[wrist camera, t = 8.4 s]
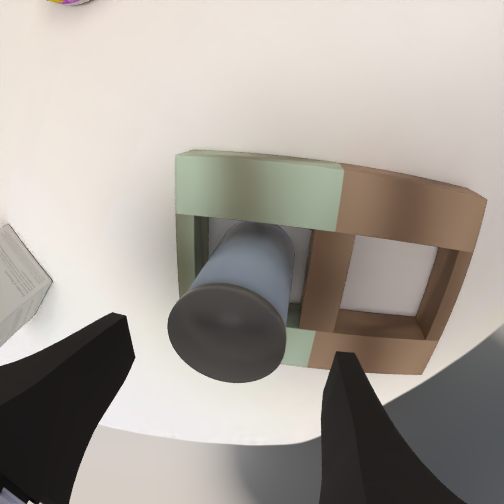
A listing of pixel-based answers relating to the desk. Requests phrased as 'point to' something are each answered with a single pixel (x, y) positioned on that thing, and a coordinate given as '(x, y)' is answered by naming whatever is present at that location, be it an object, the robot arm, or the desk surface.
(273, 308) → the tube
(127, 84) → the desk surface
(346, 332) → the rack
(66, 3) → the supplement bottle
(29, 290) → the supplement box
